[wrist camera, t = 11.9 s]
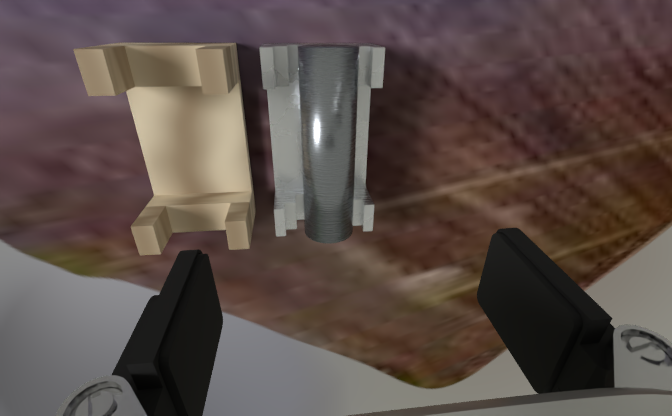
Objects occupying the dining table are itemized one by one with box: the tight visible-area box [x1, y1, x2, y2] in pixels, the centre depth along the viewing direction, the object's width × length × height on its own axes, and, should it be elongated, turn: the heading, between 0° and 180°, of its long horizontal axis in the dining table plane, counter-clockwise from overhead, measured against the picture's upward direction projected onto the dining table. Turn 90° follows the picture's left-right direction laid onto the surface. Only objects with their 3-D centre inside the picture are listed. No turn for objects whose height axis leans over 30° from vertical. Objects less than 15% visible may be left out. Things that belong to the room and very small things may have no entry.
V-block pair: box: [259, 43, 385, 236], centre depth 27 cm, size 8×14×4 cm, turn 0°
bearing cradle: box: [73, 43, 256, 255], centre depth 25 cm, size 8×14×6 cm, turn 0°
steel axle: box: [298, 44, 359, 243], centre depth 26 cm, size 4×14×4 cm, turn 0°
